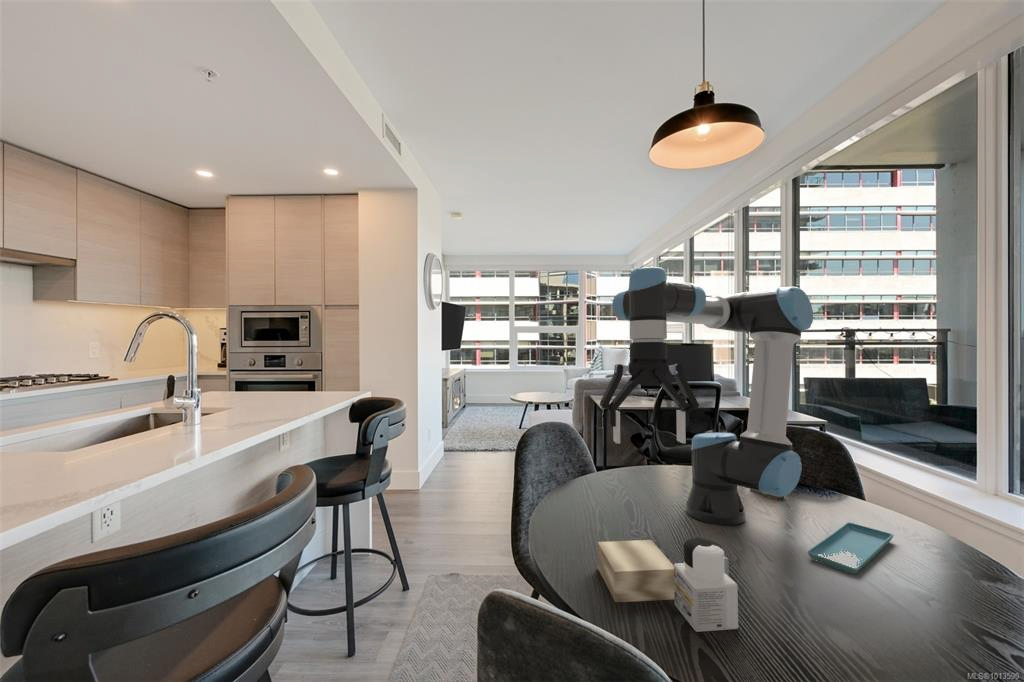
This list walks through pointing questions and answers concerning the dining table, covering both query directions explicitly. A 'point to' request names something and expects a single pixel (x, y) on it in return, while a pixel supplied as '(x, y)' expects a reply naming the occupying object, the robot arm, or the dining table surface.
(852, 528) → the teal serving tray
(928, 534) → the dining table surface
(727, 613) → the container
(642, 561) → the maple block
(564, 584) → the dining table surface
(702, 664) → the dining table surface
